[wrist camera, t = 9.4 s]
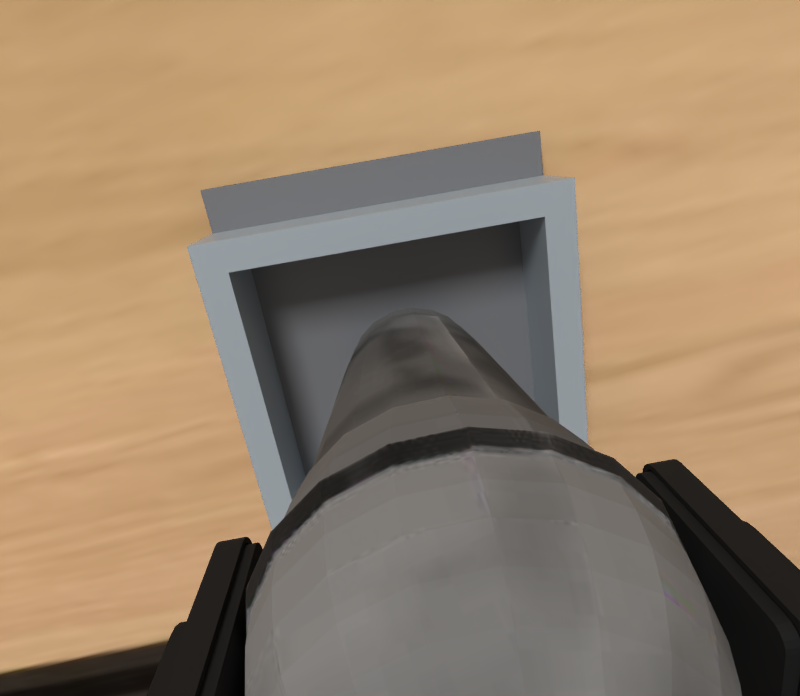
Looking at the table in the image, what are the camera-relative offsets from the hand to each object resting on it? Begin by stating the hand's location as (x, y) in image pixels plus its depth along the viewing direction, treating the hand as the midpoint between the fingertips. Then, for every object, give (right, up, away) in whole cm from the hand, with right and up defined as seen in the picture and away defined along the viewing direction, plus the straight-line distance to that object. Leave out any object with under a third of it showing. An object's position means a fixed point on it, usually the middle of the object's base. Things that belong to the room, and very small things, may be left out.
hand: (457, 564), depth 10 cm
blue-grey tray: (-1, +4, +12) cm, 12 cm away
